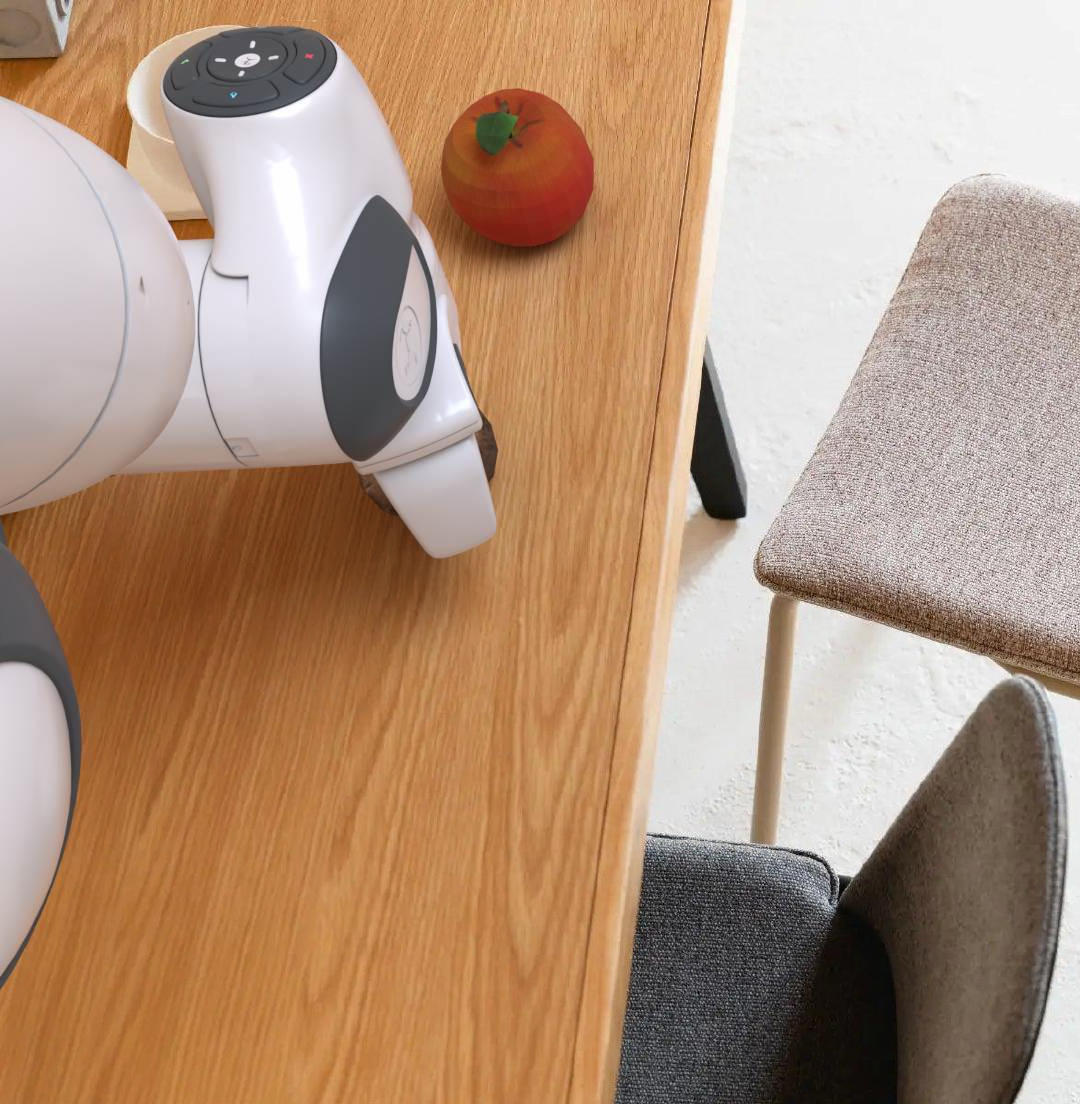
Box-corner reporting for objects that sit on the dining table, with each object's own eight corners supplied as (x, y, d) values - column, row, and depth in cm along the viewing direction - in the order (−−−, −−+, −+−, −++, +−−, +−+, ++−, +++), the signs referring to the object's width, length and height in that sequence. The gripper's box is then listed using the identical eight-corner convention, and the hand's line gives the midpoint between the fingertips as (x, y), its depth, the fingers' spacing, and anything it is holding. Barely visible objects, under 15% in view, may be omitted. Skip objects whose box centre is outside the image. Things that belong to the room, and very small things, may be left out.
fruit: (615, 165, 99) (592, 48, 90) (589, 276, 94) (562, 164, 86) (476, 156, 100) (440, 39, 91) (444, 265, 95) (402, 153, 86)
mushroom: (340, 394, 86) (358, 377, 81) (476, 392, 90) (502, 376, 84) (350, 530, 86) (369, 523, 80) (486, 523, 90) (513, 515, 84)
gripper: (245, 190, 77) (328, 351, 89) (360, 487, 68) (435, 622, 80) (361, 150, 78) (427, 314, 91) (489, 436, 69) (544, 576, 81)
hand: (432, 461), depth 85 cm, fingers open, 7 cm apart
